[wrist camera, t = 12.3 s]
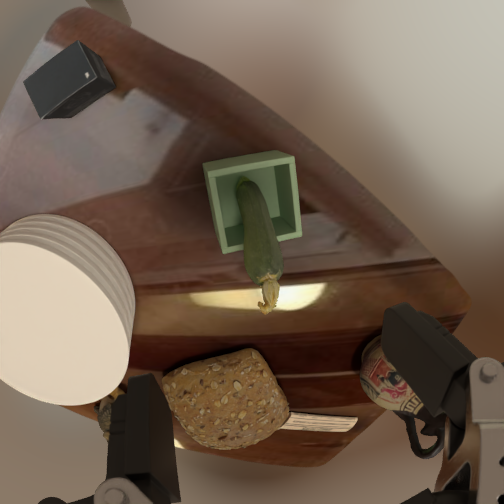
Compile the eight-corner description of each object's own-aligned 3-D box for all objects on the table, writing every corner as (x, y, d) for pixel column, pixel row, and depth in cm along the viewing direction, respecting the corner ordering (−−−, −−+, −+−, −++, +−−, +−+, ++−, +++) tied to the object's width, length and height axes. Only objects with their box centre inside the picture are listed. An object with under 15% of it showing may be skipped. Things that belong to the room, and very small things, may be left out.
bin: (202, 163, 42) (207, 171, 35) (275, 149, 44) (294, 156, 37) (215, 233, 47) (222, 254, 40) (284, 218, 48) (302, 236, 42)
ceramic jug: (383, 310, 62) (473, 408, 35) (413, 335, 68) (488, 417, 41) (329, 368, 65) (395, 477, 38) (366, 384, 71) (426, 473, 44)
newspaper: (356, 415, 77) (358, 420, 75) (341, 431, 79) (343, 435, 77) (290, 410, 68) (292, 415, 66) (275, 427, 70) (276, 432, 68)
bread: (288, 401, 66) (305, 441, 56) (202, 431, 65) (209, 473, 54) (257, 327, 55) (276, 374, 45) (149, 367, 54) (149, 417, 43)
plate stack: (-17, 322, 42) (-40, 359, 32) (6, 185, 36) (-34, 206, 25) (108, 379, 53) (102, 424, 43) (162, 259, 46) (160, 300, 36)
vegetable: (266, 178, 44) (305, 306, 32) (249, 199, 46) (279, 325, 35) (240, 167, 41) (272, 301, 30) (223, 189, 44) (247, 321, 32)
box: (100, 55, 33) (78, 38, 23) (116, 87, 35) (98, 77, 26) (53, 88, 33) (20, 81, 23) (69, 119, 35) (39, 120, 26)
